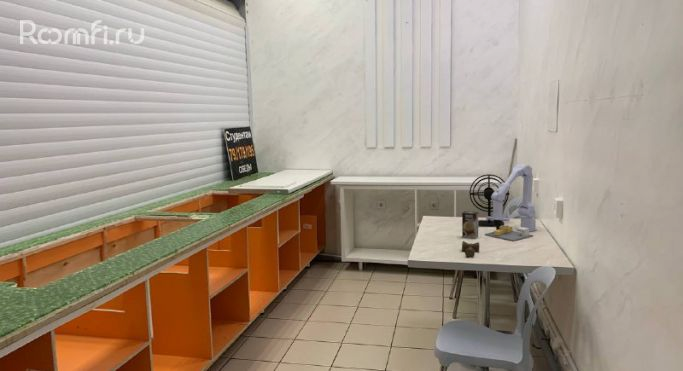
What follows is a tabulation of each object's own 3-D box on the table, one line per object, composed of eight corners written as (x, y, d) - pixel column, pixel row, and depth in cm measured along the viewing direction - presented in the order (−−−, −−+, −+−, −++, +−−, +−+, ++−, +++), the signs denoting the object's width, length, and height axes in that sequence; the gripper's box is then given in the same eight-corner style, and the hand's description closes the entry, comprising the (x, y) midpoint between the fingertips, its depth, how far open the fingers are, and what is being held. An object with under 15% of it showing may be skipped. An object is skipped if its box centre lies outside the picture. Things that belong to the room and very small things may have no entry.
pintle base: (504, 230, 332) (504, 222, 331) (533, 236, 314) (533, 228, 313) (484, 235, 322) (484, 227, 321) (513, 241, 303) (513, 232, 303)
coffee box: (461, 237, 318) (461, 212, 316) (464, 235, 324) (464, 210, 321) (476, 238, 314) (476, 213, 312) (478, 236, 319) (478, 211, 317)
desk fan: (508, 222, 358) (509, 173, 353) (510, 227, 341) (510, 176, 336) (469, 221, 365) (469, 173, 360) (469, 226, 348) (469, 176, 343)
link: (503, 229, 329) (503, 225, 329) (512, 230, 325) (512, 226, 325) (491, 234, 318) (491, 229, 317) (501, 235, 313) (501, 231, 313)
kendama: (460, 258, 275) (462, 248, 294) (478, 259, 272) (479, 249, 291) (460, 247, 274) (462, 238, 293) (479, 248, 271) (479, 239, 290)
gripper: (484, 210, 321) (484, 231, 323) (507, 212, 312) (507, 234, 314) (488, 209, 327) (488, 229, 328) (510, 210, 318) (510, 231, 320)
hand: (497, 231), depth 322 cm, fingers closed, pressing on link
